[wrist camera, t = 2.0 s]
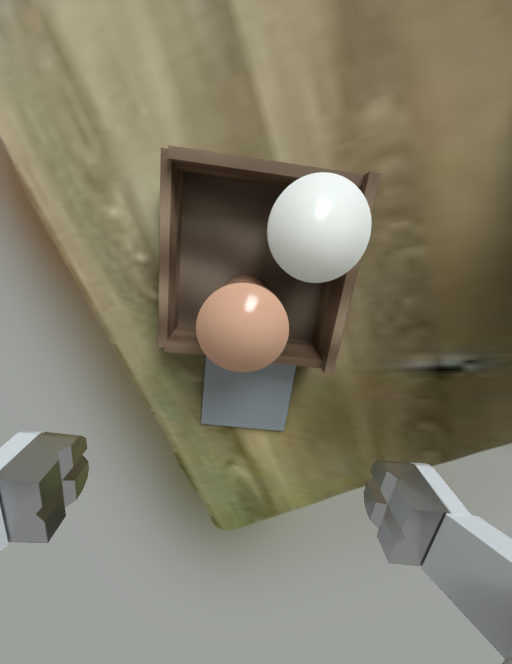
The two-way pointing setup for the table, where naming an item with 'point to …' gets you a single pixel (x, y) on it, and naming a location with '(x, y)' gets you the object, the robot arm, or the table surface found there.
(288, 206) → the white glossy domed part
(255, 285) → the peach mushroom knob
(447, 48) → the table surface
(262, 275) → the wooden tray
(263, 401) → the slate tile
